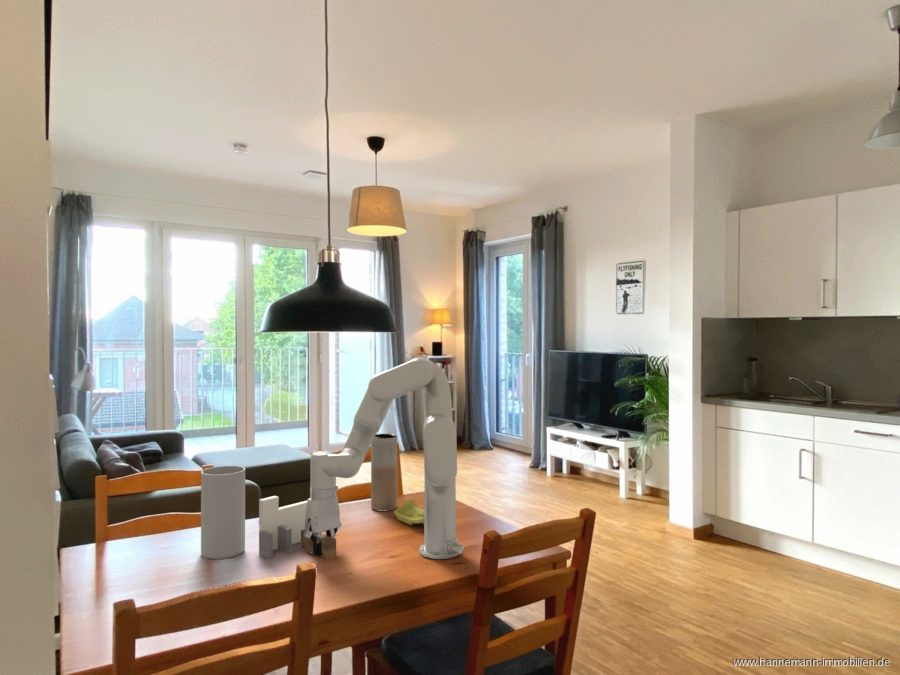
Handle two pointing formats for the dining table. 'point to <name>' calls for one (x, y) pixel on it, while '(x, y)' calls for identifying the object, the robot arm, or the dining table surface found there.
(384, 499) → the planter
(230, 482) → the cylinder vase
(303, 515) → the headboard
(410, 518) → the plastic component
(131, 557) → the dining table surface
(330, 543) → the rectangular block
